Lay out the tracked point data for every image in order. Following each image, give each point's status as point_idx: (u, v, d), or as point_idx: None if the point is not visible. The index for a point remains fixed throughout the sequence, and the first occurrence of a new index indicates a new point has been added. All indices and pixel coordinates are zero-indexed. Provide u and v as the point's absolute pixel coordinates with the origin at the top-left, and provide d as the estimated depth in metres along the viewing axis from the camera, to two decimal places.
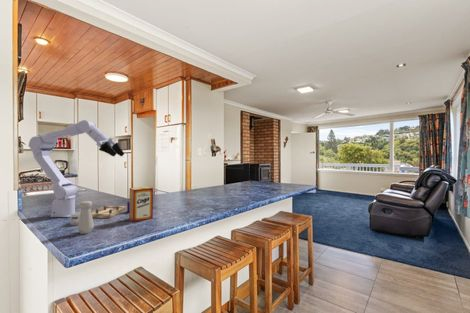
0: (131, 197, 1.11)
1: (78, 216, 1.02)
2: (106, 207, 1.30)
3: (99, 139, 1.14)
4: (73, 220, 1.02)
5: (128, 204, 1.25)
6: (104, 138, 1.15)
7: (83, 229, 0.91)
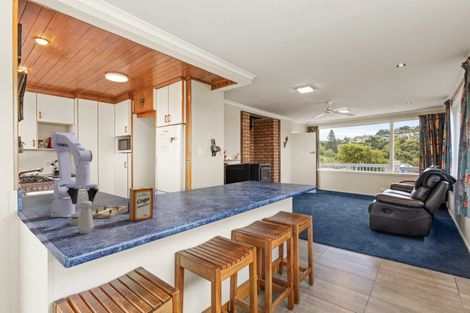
0: (131, 197, 1.11)
1: (78, 216, 1.02)
2: (106, 207, 1.30)
3: None
4: (73, 220, 1.02)
5: None
6: (75, 182, 1.04)
7: (83, 229, 0.91)
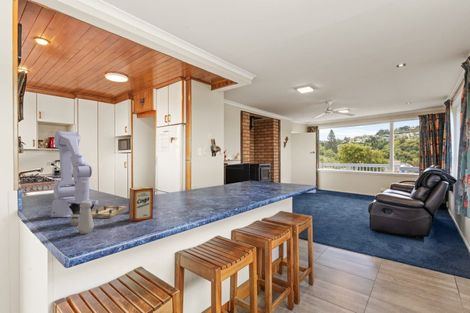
0: (131, 197, 1.11)
1: (78, 216, 1.02)
2: (106, 207, 1.30)
3: None
4: (73, 220, 1.02)
5: None
6: (74, 197, 1.04)
7: (83, 229, 0.91)
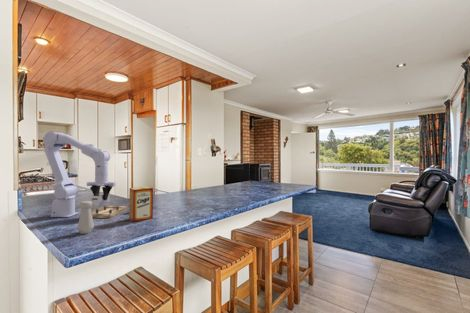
0: (131, 197, 1.11)
1: (98, 197, 1.13)
2: (106, 207, 1.30)
3: None
4: (93, 201, 1.13)
5: None
6: (95, 180, 1.16)
7: (83, 229, 0.91)
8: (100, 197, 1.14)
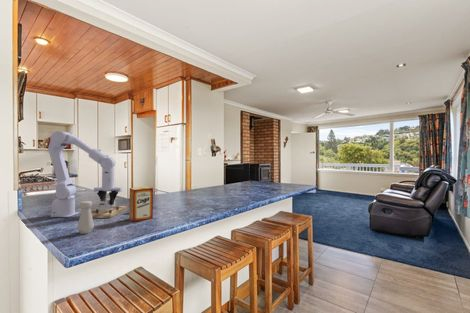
0: (131, 197, 1.11)
1: (105, 202, 1.17)
2: None
3: None
4: (100, 206, 1.17)
5: None
6: (102, 185, 1.20)
7: (83, 229, 0.91)
8: (107, 202, 1.19)
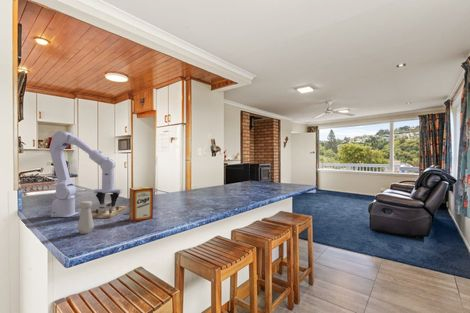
0: (131, 197, 1.11)
1: (105, 206, 1.17)
2: None
3: None
4: (100, 209, 1.17)
5: None
6: (102, 187, 1.20)
7: (83, 229, 0.91)
8: (107, 205, 1.19)
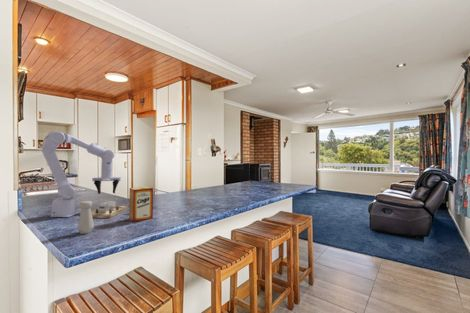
0: (131, 197, 1.11)
1: (105, 206, 1.17)
2: None
3: None
4: (100, 209, 1.17)
5: None
6: (102, 175, 1.29)
7: (83, 229, 0.91)
8: (107, 205, 1.19)
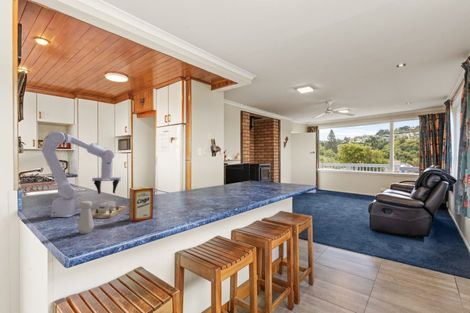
0: (131, 197, 1.11)
1: (105, 206, 1.17)
2: None
3: None
4: (100, 209, 1.17)
5: None
6: (102, 175, 1.29)
7: (83, 229, 0.91)
8: (107, 205, 1.19)
